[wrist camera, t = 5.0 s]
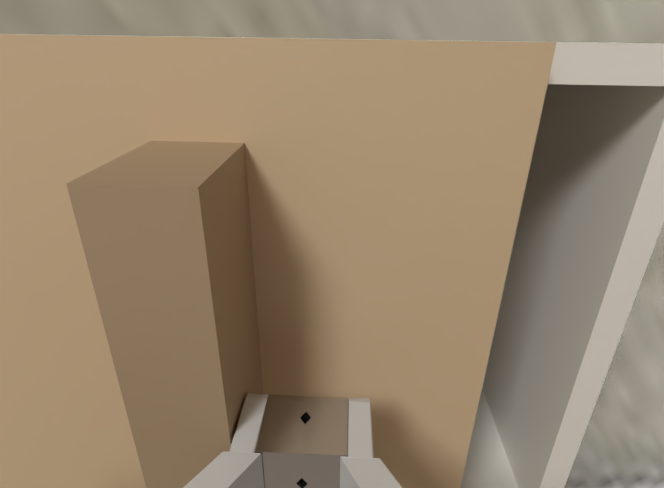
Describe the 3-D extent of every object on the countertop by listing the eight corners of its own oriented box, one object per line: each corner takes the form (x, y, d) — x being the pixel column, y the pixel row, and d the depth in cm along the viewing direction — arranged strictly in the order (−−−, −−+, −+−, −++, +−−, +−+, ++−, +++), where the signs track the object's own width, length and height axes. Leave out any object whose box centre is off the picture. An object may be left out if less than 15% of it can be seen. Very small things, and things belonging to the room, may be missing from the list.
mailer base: (571, 42, 15) (730, 44, 9) (491, 390, 22) (547, 533, 16) (-42, 33, 16) (-307, 29, 9) (68, 371, 23) (-43, 500, 16)
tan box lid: (539, 42, 9) (660, 44, 5) (442, 528, 16) (466, 666, 12) (-471, 27, 10) (-935, 21, 6) (-139, 496, 16) (-269, 617, 13)
